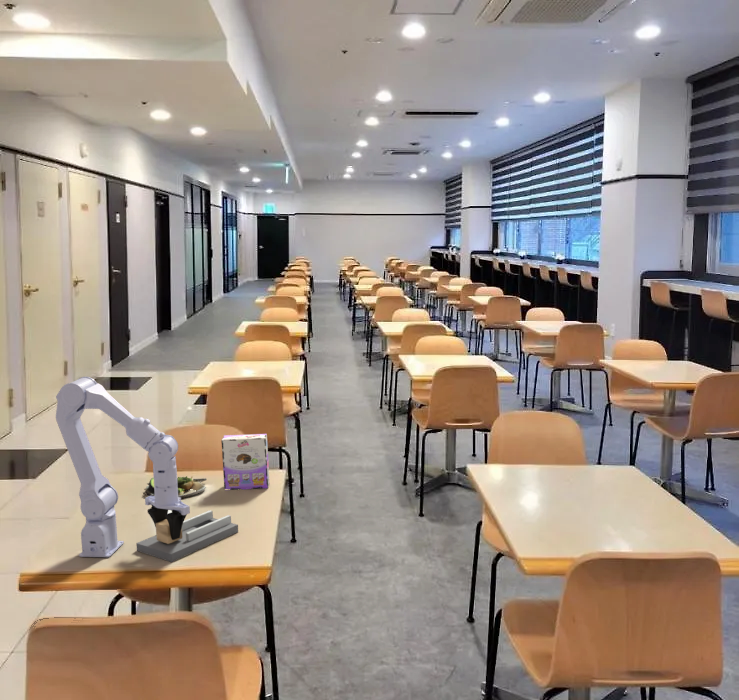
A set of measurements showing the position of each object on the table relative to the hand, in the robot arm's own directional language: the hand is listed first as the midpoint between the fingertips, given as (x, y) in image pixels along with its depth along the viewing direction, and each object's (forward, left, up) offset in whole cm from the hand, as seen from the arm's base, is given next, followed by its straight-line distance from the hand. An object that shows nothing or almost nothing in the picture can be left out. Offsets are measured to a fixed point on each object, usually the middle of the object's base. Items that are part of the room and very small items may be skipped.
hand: (168, 536), depth 202 cm
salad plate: (+44, +14, -4) cm, 47 cm away
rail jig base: (+5, -3, -3) cm, 7 cm away
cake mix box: (+49, -8, -4) cm, 50 cm away
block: (0, 0, -1) cm, 1 cm away
